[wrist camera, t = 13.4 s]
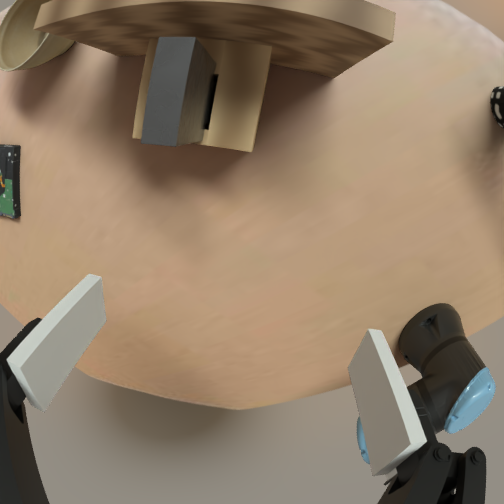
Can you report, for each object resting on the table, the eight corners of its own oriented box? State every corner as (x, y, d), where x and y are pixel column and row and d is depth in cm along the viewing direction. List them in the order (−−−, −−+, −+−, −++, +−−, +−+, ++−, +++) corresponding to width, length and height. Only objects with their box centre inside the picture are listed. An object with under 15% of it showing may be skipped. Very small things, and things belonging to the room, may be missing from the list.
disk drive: (-4, 143, 37) (-3, 209, 43) (-13, 145, 34) (-12, 213, 40) (23, 144, 38) (22, 215, 44) (13, 146, 35) (14, 220, 41)
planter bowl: (83, 72, 32) (41, 65, 22) (24, 76, 31) (-16, 76, 21) (112, -10, 26) (79, -32, 16) (48, 3, 25) (13, -8, 15)
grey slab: (224, 73, 31) (195, 37, 16) (212, 138, 35) (175, 146, 20) (201, 71, 31) (159, 37, 16) (190, 135, 34) (140, 143, 20)
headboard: (337, 60, 32) (395, 12, 13) (317, 160, 38) (364, 190, 20) (122, 39, 30) (41, 4, 12) (107, 132, 37) (14, 147, 19)
